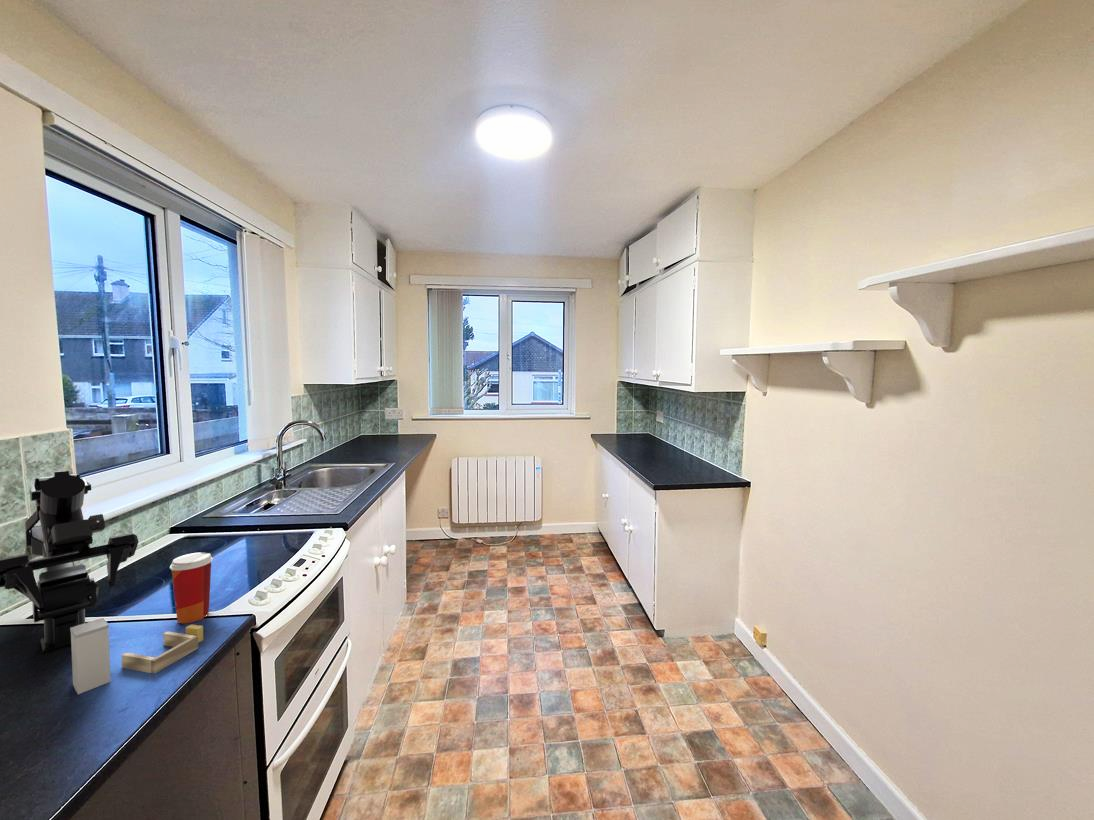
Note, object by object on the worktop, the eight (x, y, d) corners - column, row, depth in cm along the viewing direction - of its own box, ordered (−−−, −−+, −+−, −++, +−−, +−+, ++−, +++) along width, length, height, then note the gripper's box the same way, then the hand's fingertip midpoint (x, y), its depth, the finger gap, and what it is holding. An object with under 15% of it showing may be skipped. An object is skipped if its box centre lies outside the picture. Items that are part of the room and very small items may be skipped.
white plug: (72, 685, 76) (70, 627, 76) (105, 673, 80) (103, 617, 79) (77, 694, 74) (75, 635, 74) (110, 681, 78) (108, 624, 77)
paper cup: (196, 607, 104) (194, 550, 103) (222, 610, 102) (221, 552, 102) (161, 624, 96) (159, 562, 96) (189, 628, 95) (187, 566, 94)
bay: (121, 667, 81) (121, 654, 81) (167, 643, 89) (167, 631, 89) (154, 673, 80) (154, 660, 80) (198, 648, 88) (197, 636, 88)
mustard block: (185, 641, 90) (185, 627, 90) (191, 638, 91) (191, 624, 91) (197, 643, 89) (197, 629, 89) (203, 640, 91) (202, 626, 90)
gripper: (-11, 515, 75) (0, 594, 70) (134, 494, 91) (152, 557, 85) (-13, 550, 80) (-3, 626, 74) (125, 524, 96) (141, 586, 90)
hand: (78, 596), depth 81 cm, fingers open, 9 cm apart
